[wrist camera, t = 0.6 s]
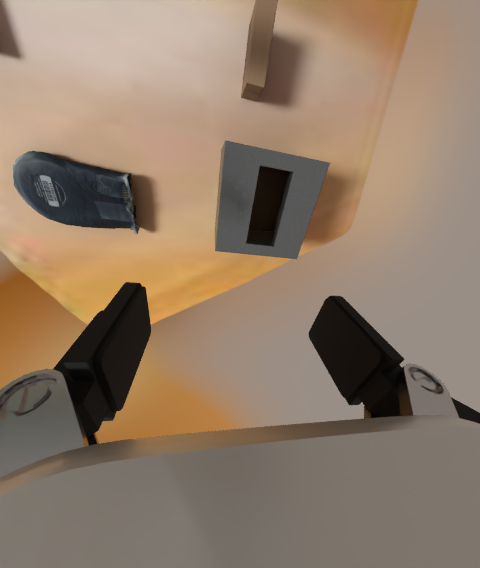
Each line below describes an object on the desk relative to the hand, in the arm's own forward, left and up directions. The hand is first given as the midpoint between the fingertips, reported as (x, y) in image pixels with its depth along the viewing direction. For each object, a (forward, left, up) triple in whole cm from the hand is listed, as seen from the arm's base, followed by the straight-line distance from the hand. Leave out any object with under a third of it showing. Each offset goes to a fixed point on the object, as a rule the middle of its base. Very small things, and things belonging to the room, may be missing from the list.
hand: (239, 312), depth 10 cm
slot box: (-3, +5, -26) cm, 27 cm away
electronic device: (0, -21, -27) cm, 34 cm away
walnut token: (-18, +2, -26) cm, 32 cm away
